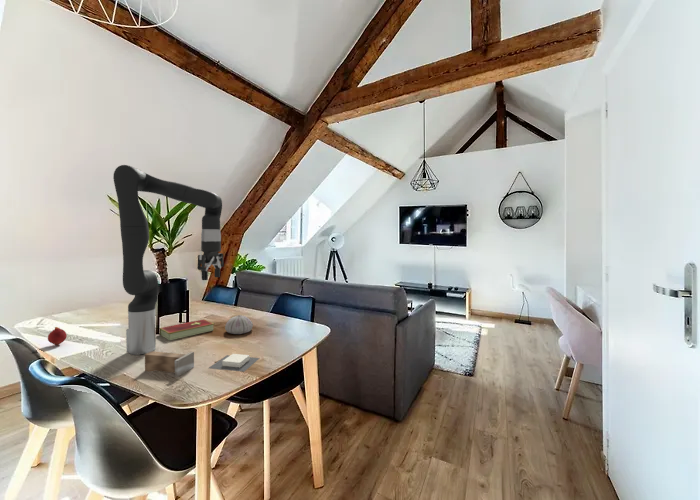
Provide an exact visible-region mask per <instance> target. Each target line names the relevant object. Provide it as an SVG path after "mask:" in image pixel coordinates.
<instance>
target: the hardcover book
mask: <svg viewBox="0 0 700 500" xmlns="http://www.w3.org/2000/svg"><path fill="white" fill-rule="evenodd" d="M214 325H215V323H214V322H211V321H209V320H207V319H205V318H203V319H198V320H194V321H190V322H189V321H188V322H185V323H184V322H183V323H178V324H173V325H168V326H163V327H159V336H161V337H163V338H165V339H166V340H168V341H173V340H177V339H181V338H187V337H191V336H194V335H199V334H200V335H201V334H203V333H207V332H212V331H214Z"/></svg>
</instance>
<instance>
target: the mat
mask: <svg viewBox="0 0 700 500" xmlns="http://www.w3.org/2000/svg"><path fill="white" fill-rule="evenodd" d="M229 356H230V355H228V354H227V355H225V356H224V357H222V358H221V359H219V360H218V361H217V362H215V363H214V364H212V365H211V366H209V367H208V369H213V370H223V371H232V372H233V371H235V372H241V373H242V372H243V373H245V372H246V371H247V370H248V369H249V368H251V366H253V365H254V364H255V363H256V362H258V360H259V359H260V357H252V356H250V360H249V361H247V362H246V363H245V364H244V365H242V366H241V367H229V366H222V361H223V360H224V359H226V358H227V357H229Z"/></svg>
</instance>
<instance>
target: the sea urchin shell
mask: <svg viewBox="0 0 700 500" xmlns="http://www.w3.org/2000/svg"><path fill="white" fill-rule="evenodd" d="M253 324H254V323H253V322H252V320H251V319H250V318H249V316H248V317H247V316H246V315H242V314H241V315H235V316H233V317H231V318H229V320H227V322H226V323H225V326H224V329H225V331H226V332H227V334H233V335H242V334H246V333H249V332H251V330H252V329H253V327H254V325H253Z"/></svg>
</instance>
